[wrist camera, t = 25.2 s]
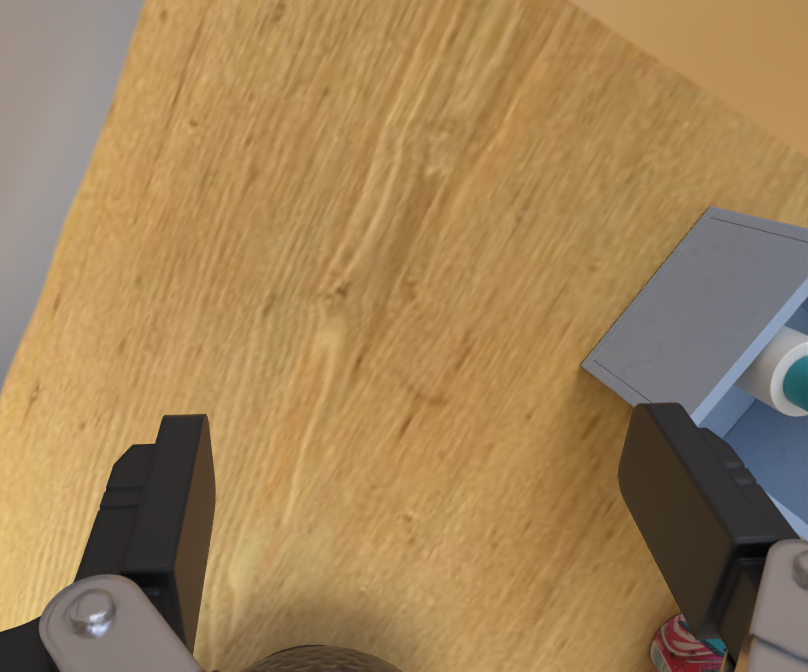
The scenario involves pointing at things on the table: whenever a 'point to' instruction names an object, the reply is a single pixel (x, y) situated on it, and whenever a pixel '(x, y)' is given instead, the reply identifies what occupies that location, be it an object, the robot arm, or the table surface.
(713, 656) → the cup
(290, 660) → the planter
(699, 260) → the grey bin
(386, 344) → the table surface
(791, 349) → the bottle
